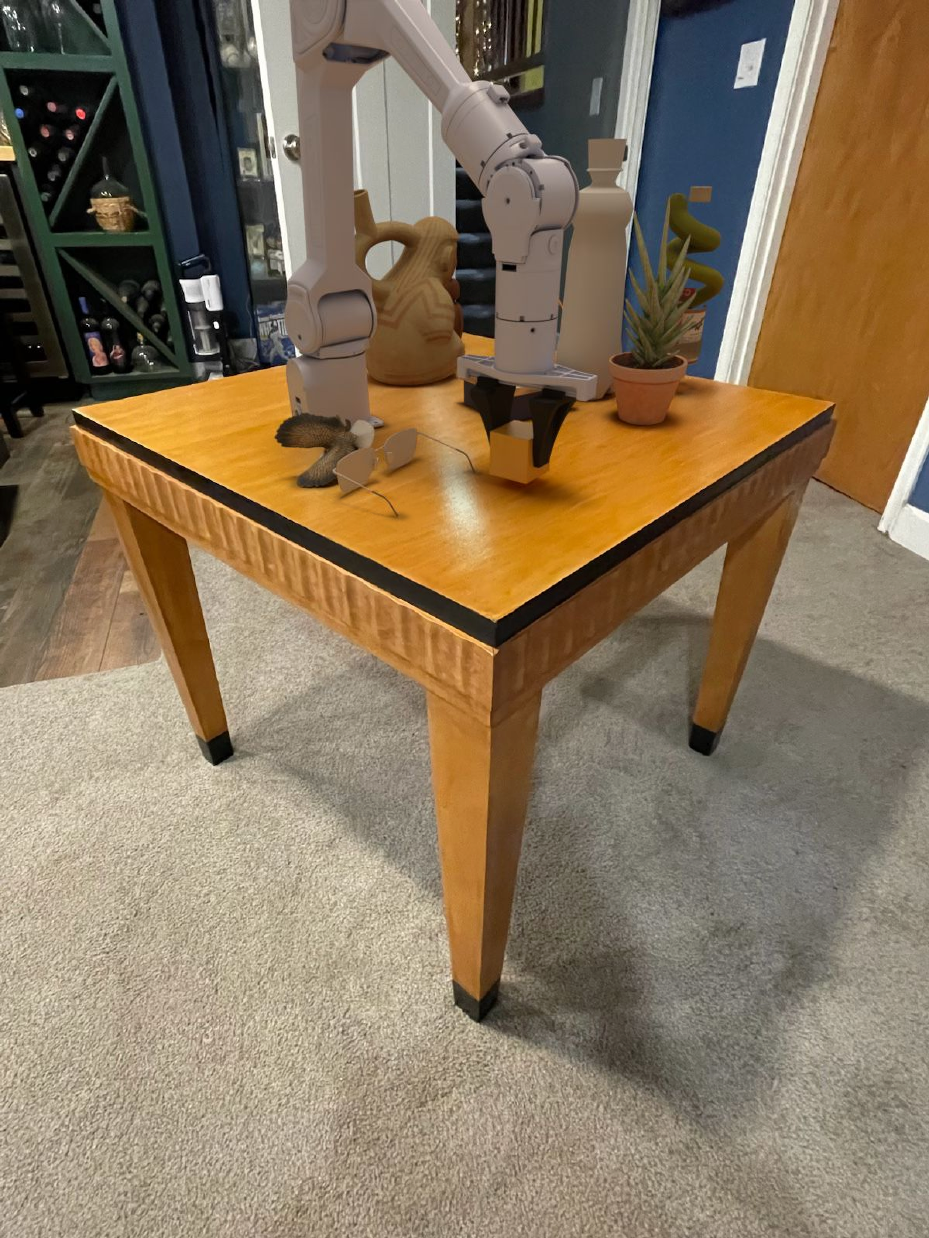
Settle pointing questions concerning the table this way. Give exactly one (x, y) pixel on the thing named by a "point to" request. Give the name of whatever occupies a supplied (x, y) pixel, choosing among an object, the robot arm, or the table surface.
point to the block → (514, 453)
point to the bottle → (596, 269)
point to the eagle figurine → (324, 442)
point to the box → (519, 401)
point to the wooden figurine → (456, 305)
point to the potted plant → (652, 340)
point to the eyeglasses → (361, 462)
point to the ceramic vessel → (410, 298)
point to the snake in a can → (692, 267)
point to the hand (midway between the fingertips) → (520, 459)
